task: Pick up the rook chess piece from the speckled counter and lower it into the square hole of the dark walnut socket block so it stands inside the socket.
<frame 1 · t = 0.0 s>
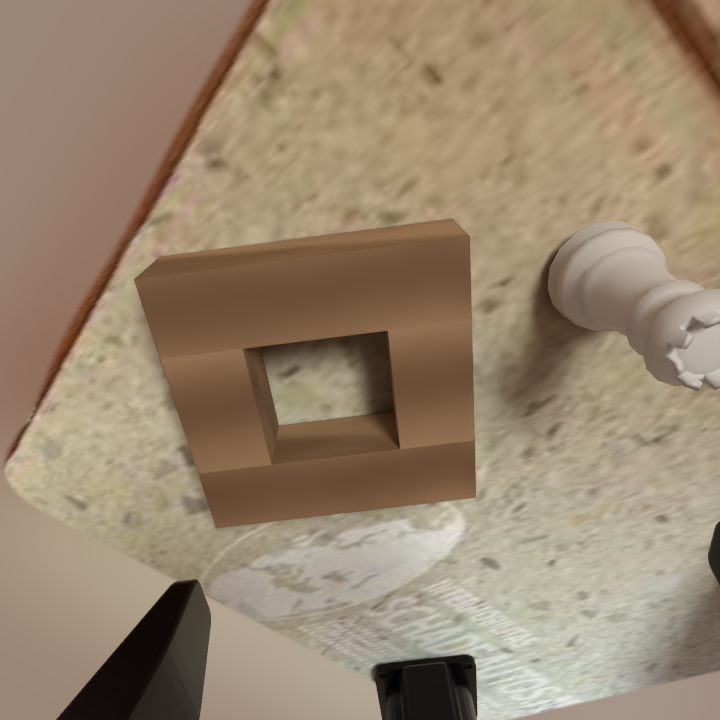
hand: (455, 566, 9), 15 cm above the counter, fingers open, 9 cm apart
rook chess piece: (593, 269, 22), on the counter
walnut socket: (327, 367, 24), on the counter
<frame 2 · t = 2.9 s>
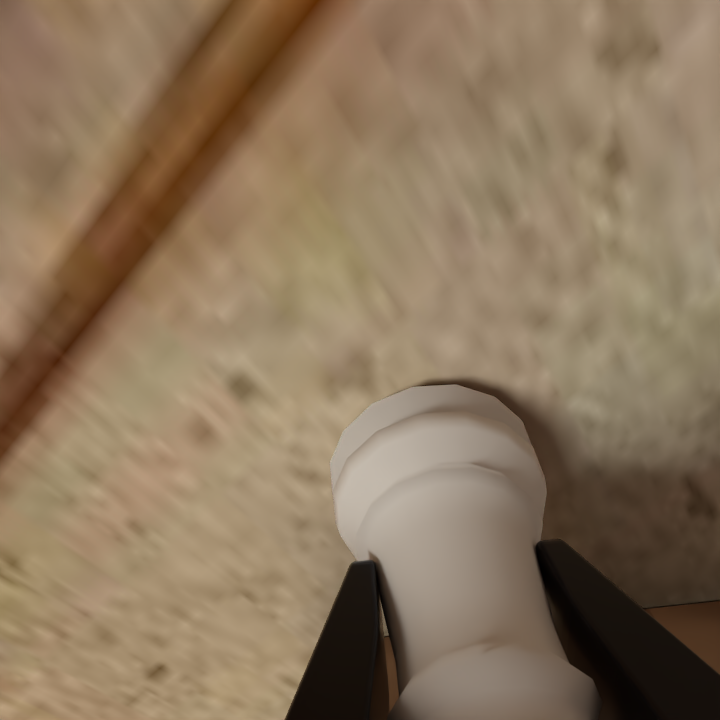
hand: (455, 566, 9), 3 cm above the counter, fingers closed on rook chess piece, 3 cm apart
rook chess piece: (426, 453, 12), on the counter, touching gripper
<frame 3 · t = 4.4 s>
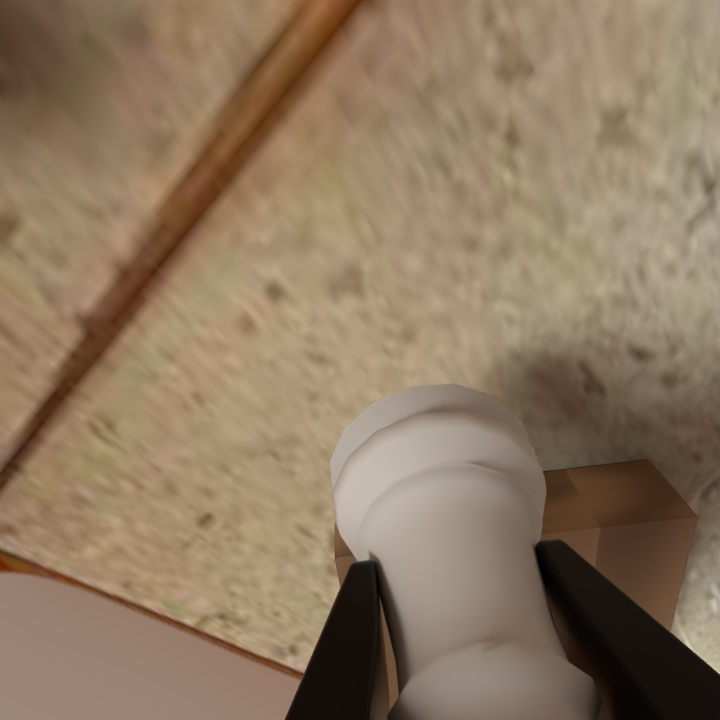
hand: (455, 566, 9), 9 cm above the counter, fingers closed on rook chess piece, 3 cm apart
rook chess piece: (426, 453, 12), point 6 cm above the counter, touching gripper
walnut socket: (490, 586, 22), on the counter
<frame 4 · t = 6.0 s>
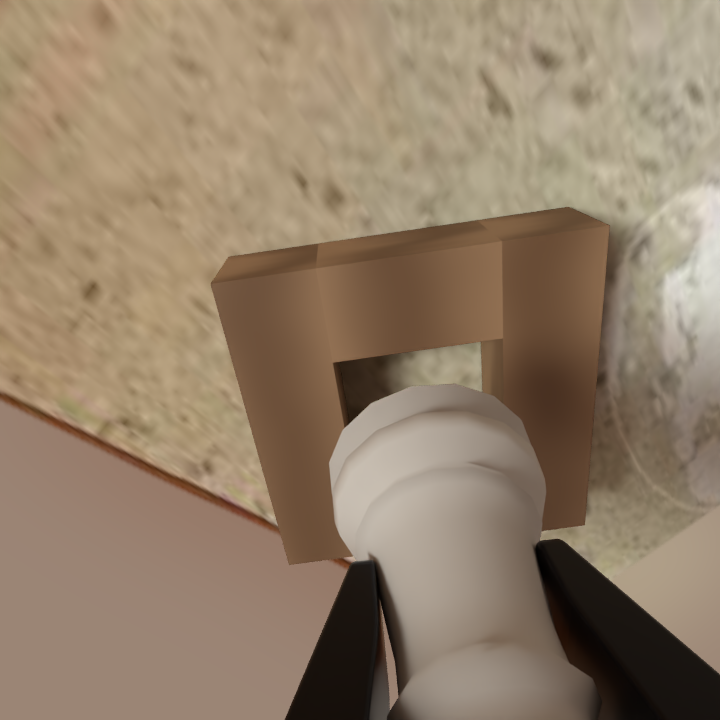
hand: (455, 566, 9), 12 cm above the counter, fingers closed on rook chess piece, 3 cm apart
rook chess piece: (426, 453, 12), point 9 cm above the counter, touching gripper
walnut socket: (412, 380, 21), on the counter
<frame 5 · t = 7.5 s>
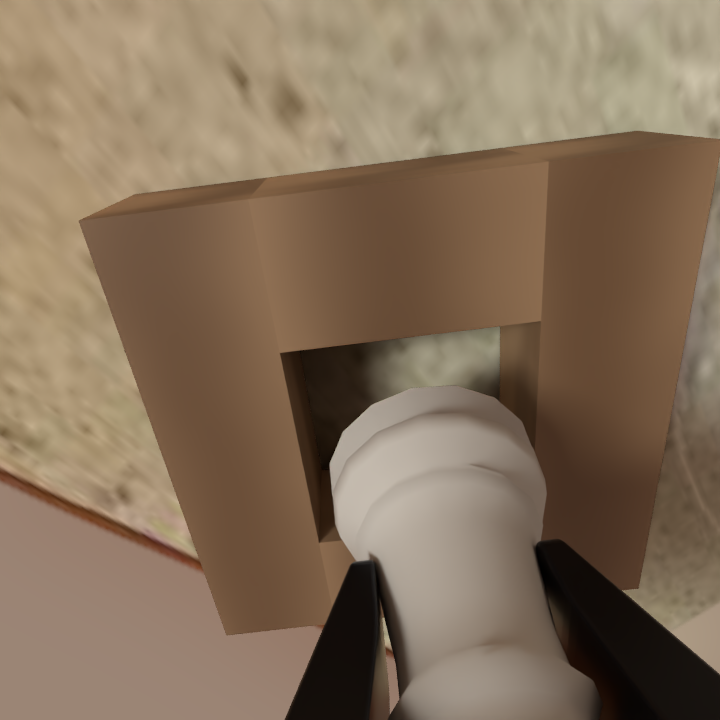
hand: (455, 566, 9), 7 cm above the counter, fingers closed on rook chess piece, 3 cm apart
rook chess piece: (426, 454, 12), point 3 cm above the counter, touching gripper
walnut socket: (403, 382, 15), on the counter
when the fingers open (4 cm above the counter, at t = 9.0 s): rook chess piece drops 1 cm, resting in walnut socket.
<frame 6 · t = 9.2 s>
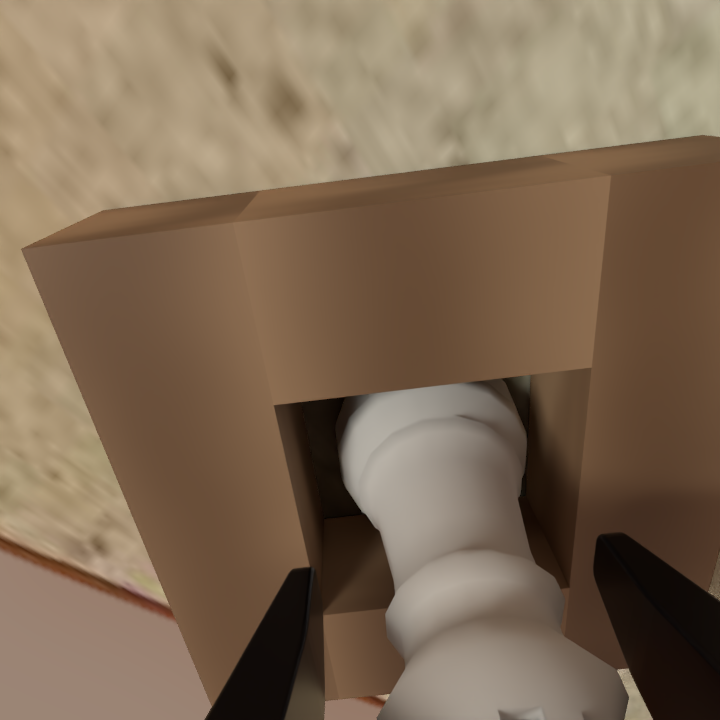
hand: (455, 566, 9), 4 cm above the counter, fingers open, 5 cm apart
rook chess piece: (422, 417, 13), resting in walnut socket
walnut socket: (418, 423, 13), on the counter
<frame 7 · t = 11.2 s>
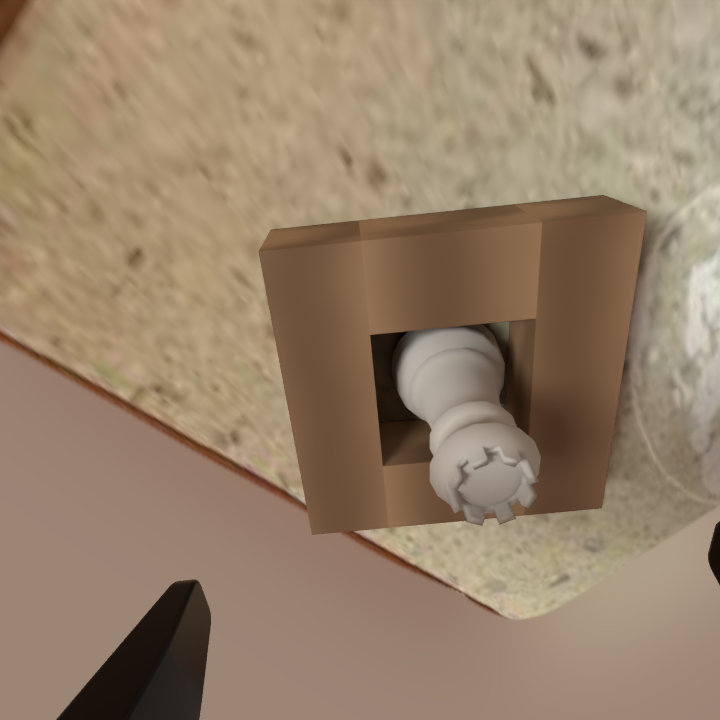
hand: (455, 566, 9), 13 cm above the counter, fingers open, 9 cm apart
rook chess piece: (442, 357, 22), resting in walnut socket
walnut socket: (440, 360, 21), on the counter
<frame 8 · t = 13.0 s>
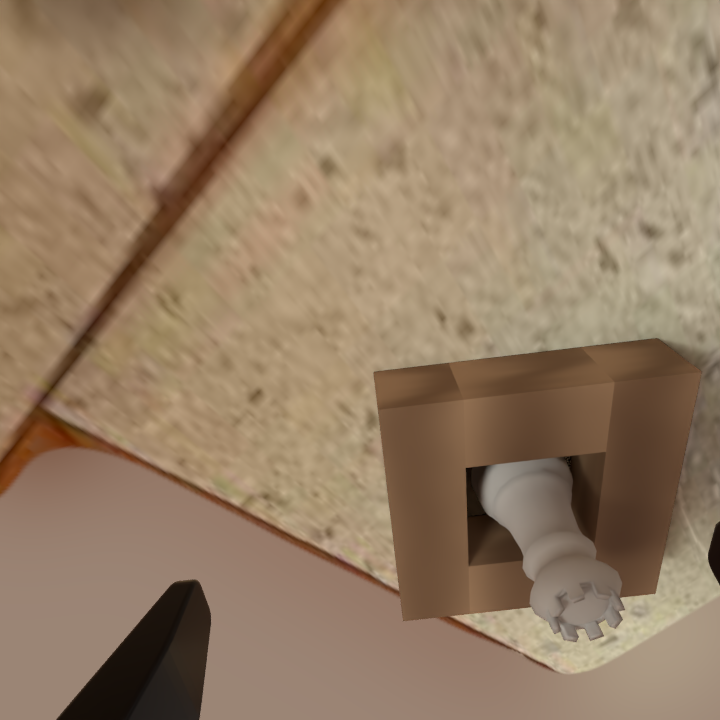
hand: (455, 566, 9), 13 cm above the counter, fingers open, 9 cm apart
rook chess piece: (513, 464, 25), resting in walnut socket
walnut socket: (512, 467, 25), on the counter
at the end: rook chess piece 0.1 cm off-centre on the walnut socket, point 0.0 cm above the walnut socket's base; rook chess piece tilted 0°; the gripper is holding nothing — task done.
